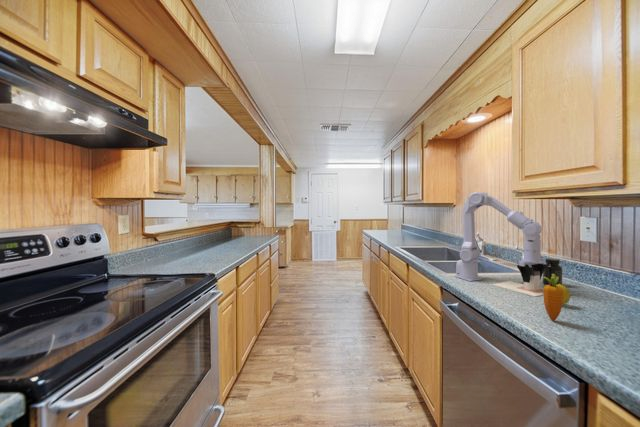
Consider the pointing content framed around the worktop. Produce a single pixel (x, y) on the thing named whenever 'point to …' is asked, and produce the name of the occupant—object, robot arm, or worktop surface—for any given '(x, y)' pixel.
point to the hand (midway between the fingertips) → (531, 281)
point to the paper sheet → (519, 288)
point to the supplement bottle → (552, 270)
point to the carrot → (553, 297)
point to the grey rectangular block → (533, 281)
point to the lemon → (565, 293)
